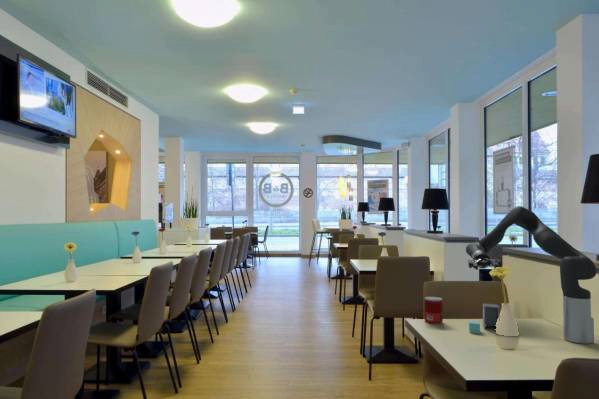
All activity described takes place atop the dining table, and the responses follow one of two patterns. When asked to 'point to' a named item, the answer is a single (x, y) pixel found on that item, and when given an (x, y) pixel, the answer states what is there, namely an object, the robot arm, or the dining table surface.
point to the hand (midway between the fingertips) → (486, 267)
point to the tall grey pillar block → (490, 314)
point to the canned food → (433, 309)
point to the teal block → (474, 327)
